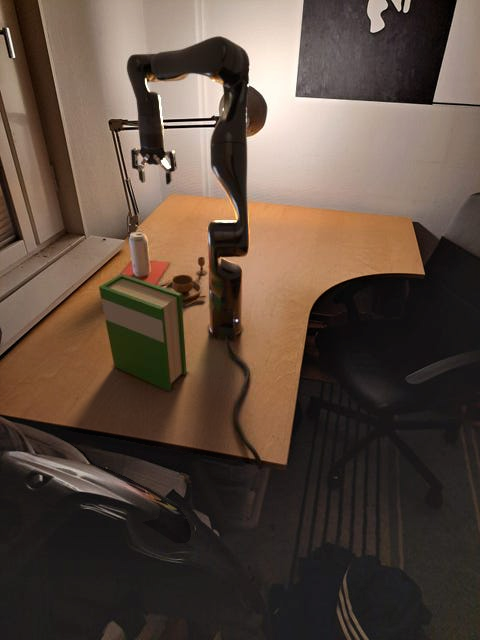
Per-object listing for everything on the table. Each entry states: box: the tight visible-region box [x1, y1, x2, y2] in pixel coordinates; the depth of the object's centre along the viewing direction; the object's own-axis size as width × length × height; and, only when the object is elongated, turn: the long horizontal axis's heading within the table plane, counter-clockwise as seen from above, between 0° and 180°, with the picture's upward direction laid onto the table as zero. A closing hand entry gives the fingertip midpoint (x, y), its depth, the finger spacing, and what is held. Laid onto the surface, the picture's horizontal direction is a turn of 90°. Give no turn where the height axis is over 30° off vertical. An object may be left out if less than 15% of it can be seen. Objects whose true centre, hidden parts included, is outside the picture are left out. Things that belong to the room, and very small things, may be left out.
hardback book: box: [98, 273, 187, 392], centre depth 102 cm, size 18×7×24 cm, turn 61°
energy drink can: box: [128, 231, 151, 277], centre depth 145 cm, size 6×6×15 cm
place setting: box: [159, 256, 207, 307], centre depth 141 cm, size 18×20×6 cm
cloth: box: [121, 260, 170, 285], centre depth 150 cm, size 20×14×1 cm
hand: (155, 182), depth 139 cm, fingers open, 8 cm apart
